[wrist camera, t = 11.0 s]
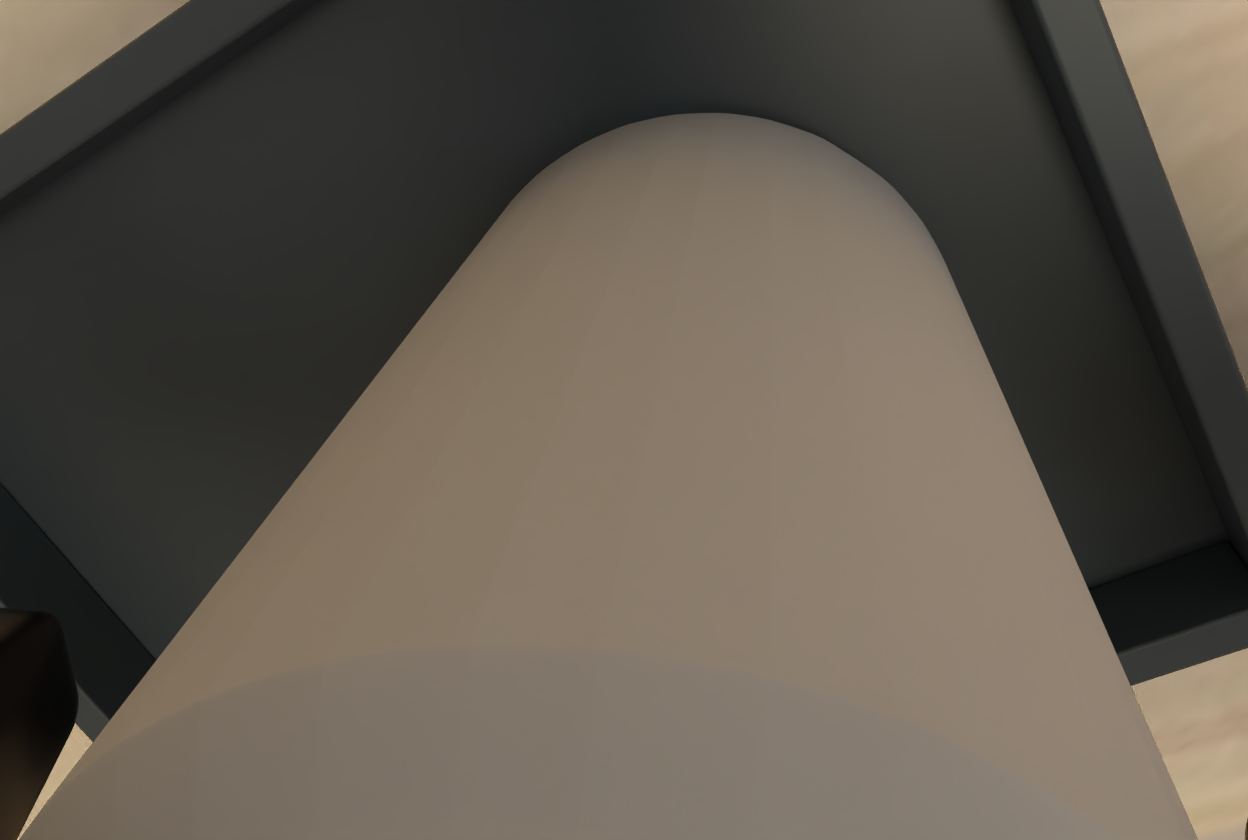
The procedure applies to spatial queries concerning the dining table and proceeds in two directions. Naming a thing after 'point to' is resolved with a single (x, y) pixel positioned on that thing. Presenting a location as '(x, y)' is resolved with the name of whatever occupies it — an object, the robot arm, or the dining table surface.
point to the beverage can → (655, 554)
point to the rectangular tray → (475, 198)
